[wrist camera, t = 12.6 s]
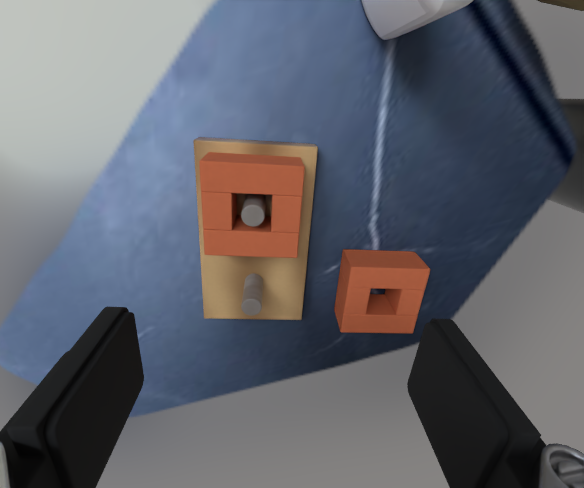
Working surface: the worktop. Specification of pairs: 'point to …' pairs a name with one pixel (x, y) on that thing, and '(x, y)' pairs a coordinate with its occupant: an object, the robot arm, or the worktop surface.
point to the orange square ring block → (384, 275)
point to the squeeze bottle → (567, 3)
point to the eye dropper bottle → (407, 14)
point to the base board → (256, 270)
